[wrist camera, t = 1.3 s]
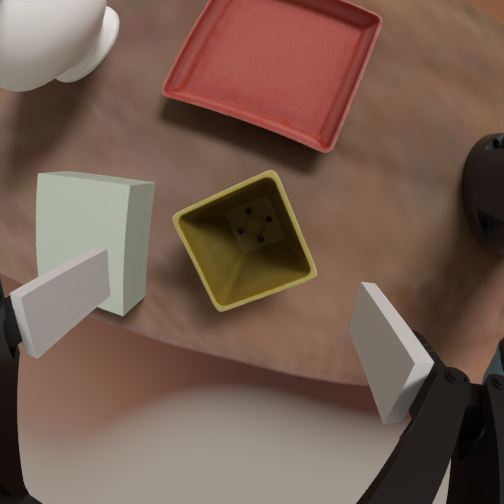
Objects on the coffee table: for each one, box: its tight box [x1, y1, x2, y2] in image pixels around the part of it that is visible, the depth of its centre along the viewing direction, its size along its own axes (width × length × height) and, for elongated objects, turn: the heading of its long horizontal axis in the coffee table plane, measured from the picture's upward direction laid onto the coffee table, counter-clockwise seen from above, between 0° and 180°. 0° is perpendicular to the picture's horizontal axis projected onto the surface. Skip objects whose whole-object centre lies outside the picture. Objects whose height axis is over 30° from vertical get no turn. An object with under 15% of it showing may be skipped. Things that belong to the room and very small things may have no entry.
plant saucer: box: [161, 0, 383, 153], centre depth 24 cm, size 18×18×3 cm
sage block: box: [36, 171, 155, 316], centre depth 30 cm, size 14×14×6 cm
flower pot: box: [172, 170, 317, 312], centre depth 26 cm, size 9×9×9 cm
